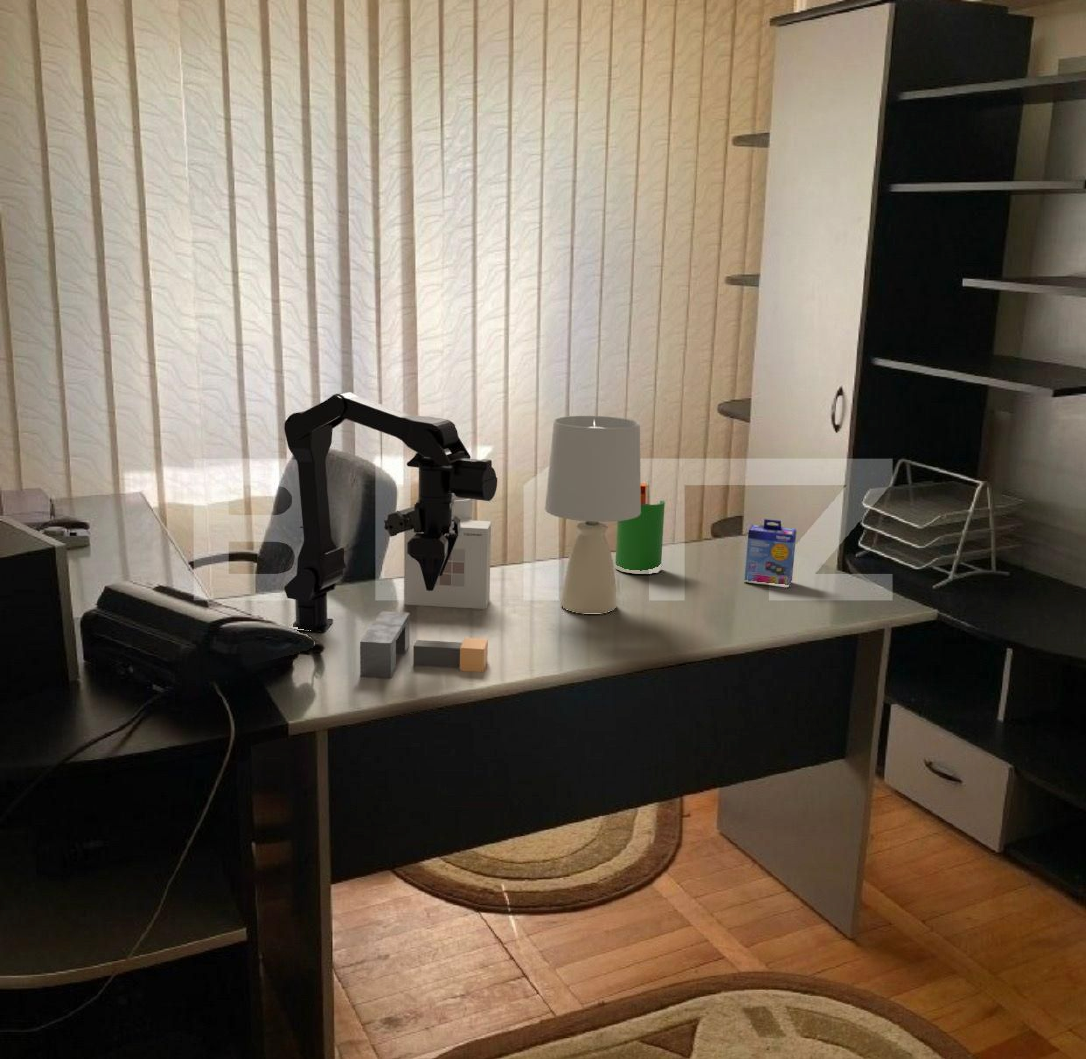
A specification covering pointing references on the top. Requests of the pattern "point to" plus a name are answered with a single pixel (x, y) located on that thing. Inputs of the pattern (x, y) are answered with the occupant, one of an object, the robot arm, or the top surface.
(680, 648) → the top surface
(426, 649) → the plug
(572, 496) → the lamp
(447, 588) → the white square bottle
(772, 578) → the ink cartridge box
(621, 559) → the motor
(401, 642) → the housing
